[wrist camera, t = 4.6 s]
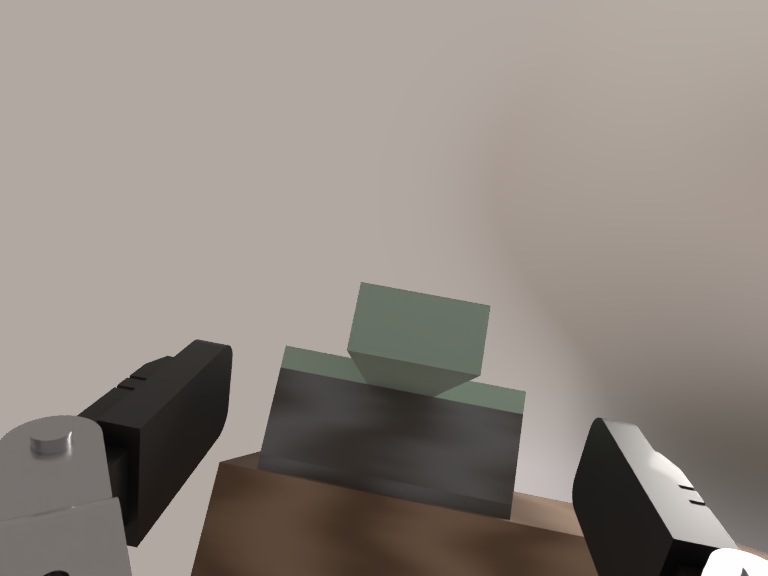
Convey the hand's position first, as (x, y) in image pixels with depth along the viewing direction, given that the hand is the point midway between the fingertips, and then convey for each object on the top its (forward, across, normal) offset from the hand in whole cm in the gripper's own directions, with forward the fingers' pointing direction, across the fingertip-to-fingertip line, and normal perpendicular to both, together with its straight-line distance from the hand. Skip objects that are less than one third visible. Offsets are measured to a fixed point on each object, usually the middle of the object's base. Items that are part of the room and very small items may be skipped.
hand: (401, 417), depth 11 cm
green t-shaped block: (+10, 0, +6) cm, 11 cm away
